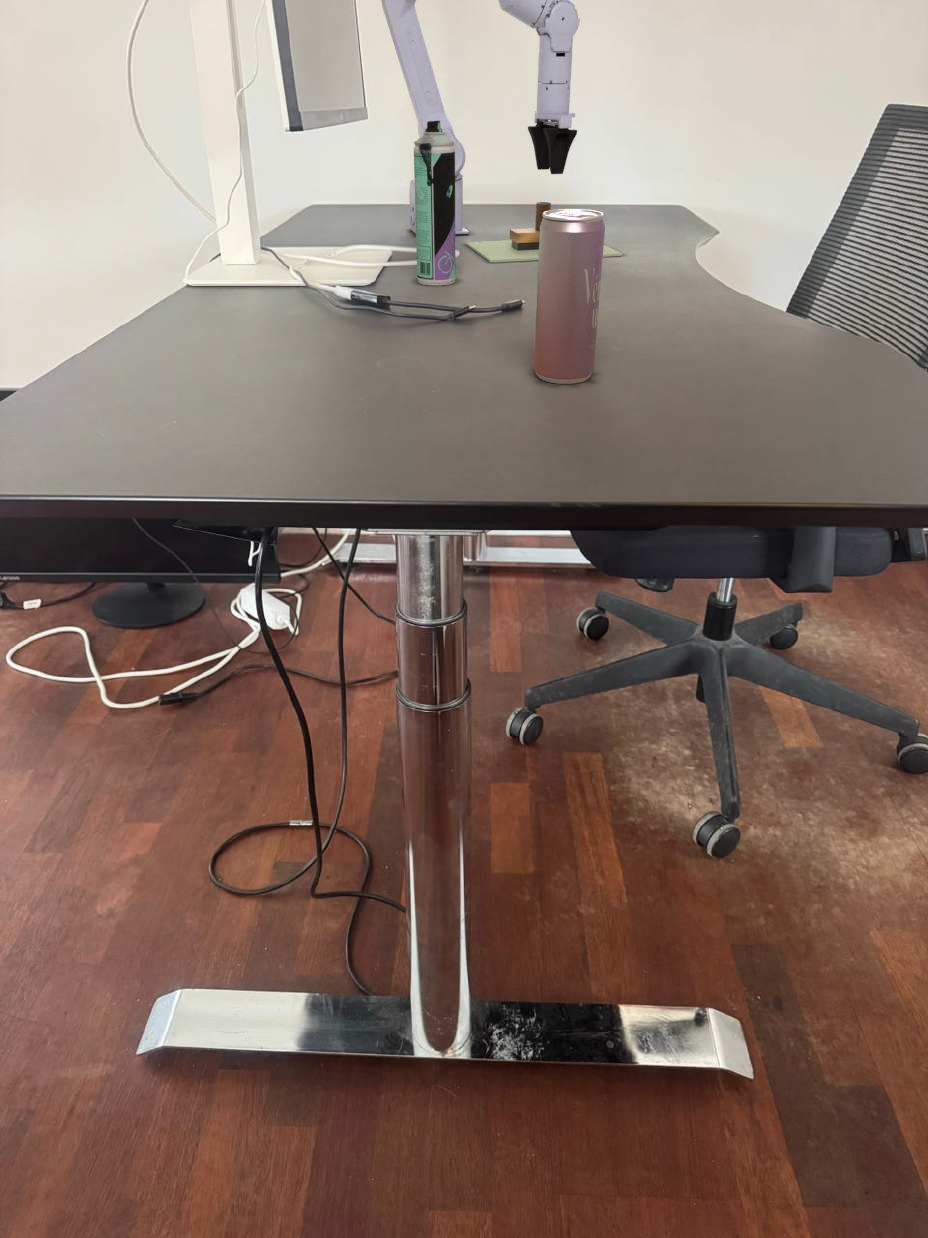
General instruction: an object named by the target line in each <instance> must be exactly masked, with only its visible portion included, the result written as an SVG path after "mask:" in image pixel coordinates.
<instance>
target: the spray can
mask: <svg viewBox="0 0 928 1238" xmlns="http://www.w3.org/2000/svg"><path fill="white" fill-rule="evenodd" d="M423 134H424V135H423V136H421V137H419V138H418V139H417V140H415V141H413V143H414V147H413V173H414V174H413V178H414V179H413V180H415V215H416V234H415V238H416V239H415V243H416V244H415V245H416V251H415V252H416V279H417V283H419V284H420V285H425V286H447V285H452V284H455V283H456V277H457V275H456V273H457V272H456V268H457V267H456V264H457V263H456V234H455V148H454V146H453V144H454V141H451V140H450V139H449V138H448V137H447V136H446V135H444V134H445V132H444V131H442V128H440V121H428V122H427V129H425V131H424V132H423Z"/></svg>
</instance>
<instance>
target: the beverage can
mask: <svg viewBox="0 0 928 1238" xmlns="http://www.w3.org/2000/svg"><path fill="white" fill-rule="evenodd" d="M604 218H605V213H603V212H602V211H599V210H593V209H584V208H557V209H551V210H549V211H545V212H544V213H543V219H542V222H541V225H540V238H539V260H537V262H538V263H537V284H536V285H537V287H536V310H535V331H534V332H535V333H534V355H533V356H534V357H533V370H534V373H535V374H536V376H537V378H538V379H540V380H541V381H544V382H546V383H552V384H557V385H574V384H579V383H580V384H581V383H583V382H585V381H587V380H589V379H590V377H591V376H592V374H593V373H594V370H595V359H596V347H597V346H596V345H597V337H598V336H597V335H598V323H599V322H598V321H599V309H600V297H601V286H602V285H601V284H602V274H603V273H602V272H603V259H604V257H603V249H604V245H605V236H606V234H605V233H606V225H605V221H604Z"/></svg>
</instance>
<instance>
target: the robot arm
mask: <svg viewBox="0 0 928 1238" xmlns="http://www.w3.org/2000/svg"><path fill="white" fill-rule="evenodd" d="M497 1H498V5H499V7H500V10H501V11H503V12H505V13H506V14H507V15H509V16H511V17H512V18H515V19H516V20H518V21H520V22H521V23H522V24H524V25H526V26H528V27H529V28H531V29H535V32H536V35H538V37H539V44H538V45H539V46H538V61H537V86H536V87H537V88H536V110H535V111H534V119H533V120H534V124H535V125H530V126H527V131H528V133H529V135H530V138H531V142H532V145H533V151H534V157H535V163H536V169H537V170H540V171H541V170H549V171H550V175H563V174H564V171H565V168H566V164H567V159H568V155H569V152H570V149H571V147H572V144H573V142H574V140H575V138H576V136H577V134H578V129H572V121H573V120H572V119H573V118H576V112H570V102H571V100H570V99H571V82H572V66H573V65H572V64H573V41H574V36H575V34H576V33H577V31H578V29H579V27H580V22H581V19H580V18H579V15H578V14H579V13H578V10H577V8H576V5H575V4H574V3H573V1H571V0H497ZM380 2H381V7H382V11H383V14H384V17H385V21H386V23H387V27H388V29H389V33H390V37H391V39H392V43H393V46H394V49H395V53H396V56H397V59H398V62H399V65H400V68H401V72H402V76H403V78H404V82H405V85H406V88H407V92H408V95H409V98H410V101H411V105H412V108H413V111H414V114H415V118H416V121H417V134H418V137H419V138H420V137H421V136H423V135H424V134H423V132H424V131H425V129H427V122H428V121H440V128H442V131H444V132H445V134H444V135H446V136H447V137H448V138H449V139H450V140H451V141H454V144H453V146H454V148H455V235H469V234H470V231H469V230H468V229H466V227H464V210H463V209H464V191H463V190H464V179H463V177H464V174H463V173H461V172H462V170H463V168H464V166H465V163H466V150H465V147H464V146H463V144H462V142H461V141H460V140H458V138H457V136H456V135H455V132H454V129H453V126H452V124H451V122H450V120H449V118H448V115H447V114H446V111H445V107H444V104H443V102H442V97H441V94H440V90H439V87H438V83H437V80H436V77H435V74H434V69H433V66H432V63H431V59H430V55H429V52H428V49H427V45H426V42H425V38H424V36H423V31H422V27H421V25H420V22H419V18H418V14H417V11H416V7H415V4H416V2H417V0H380ZM408 193H409V194H408V195H409V222H410V225H409V230H410V231H411V232H412V233H414V234H415V235H416V215H415V179H412V180H410V182H409V192H408Z"/></svg>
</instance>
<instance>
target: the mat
mask: <svg viewBox="0 0 928 1238" xmlns="http://www.w3.org/2000/svg"><path fill="white" fill-rule="evenodd" d="M465 245H466V246H467V247H468V248H470V249H471V250H473V251H474V252H475V253H476V254H478V255H479V256H480V257H482V258H484V259H485V260H486V261H488V262H489V263H492V264H493V263H511V262H512V263H513V262H530V261H531V262H532V261H539V250H521V251H517V250H516V249H514V248H513V247H512V240H511V239H505V240H504V239H503V240H502V239H501V240H485V241H484V240H483V241H466V242H465ZM608 257H610V258H611V257H623V253H622V252H621V251H619V250H616V249H614V248H613V247H610V246H608V245H606V244H604V249H603V258H608Z"/></svg>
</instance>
